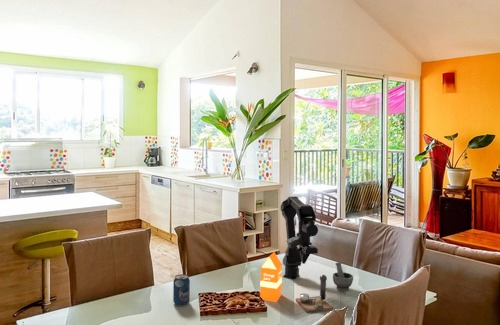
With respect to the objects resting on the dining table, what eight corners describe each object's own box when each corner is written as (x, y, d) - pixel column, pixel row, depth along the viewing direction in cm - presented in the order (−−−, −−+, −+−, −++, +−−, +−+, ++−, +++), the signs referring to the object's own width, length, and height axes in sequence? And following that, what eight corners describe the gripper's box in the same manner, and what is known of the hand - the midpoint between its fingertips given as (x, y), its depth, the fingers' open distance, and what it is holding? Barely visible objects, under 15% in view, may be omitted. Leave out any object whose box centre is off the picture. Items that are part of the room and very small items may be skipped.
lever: (299, 299, 179) (299, 273, 178) (325, 299, 179) (325, 273, 178) (300, 302, 175) (301, 276, 174) (326, 303, 175) (327, 276, 174)
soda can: (182, 308, 170) (182, 280, 170) (169, 304, 174) (170, 277, 173) (192, 302, 176) (193, 275, 175) (180, 299, 180) (181, 272, 179)
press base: (295, 301, 180) (295, 290, 180) (320, 298, 183) (320, 288, 183) (307, 313, 167) (307, 302, 167) (333, 310, 171) (334, 299, 170)
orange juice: (281, 294, 187) (282, 252, 186) (276, 302, 179) (277, 257, 178) (265, 292, 190) (266, 250, 188) (259, 299, 181) (260, 255, 180)
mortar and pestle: (356, 292, 192) (357, 267, 191) (338, 293, 189) (339, 268, 189) (344, 283, 203) (345, 260, 202) (327, 285, 200) (328, 261, 199)
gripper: (281, 228, 200) (281, 259, 201) (296, 236, 182) (295, 270, 183) (302, 227, 203) (301, 257, 204) (318, 235, 185) (317, 269, 186)
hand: (303, 263), depth 194 cm, fingers closed
